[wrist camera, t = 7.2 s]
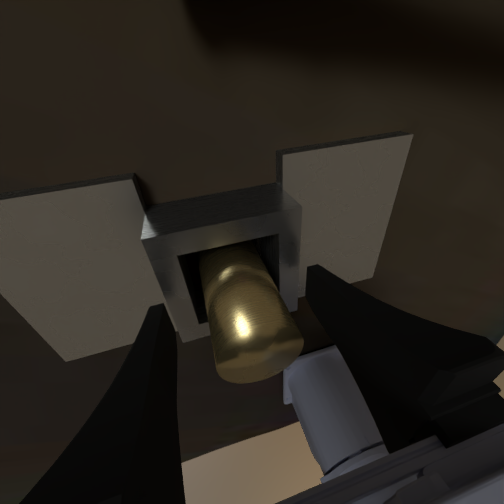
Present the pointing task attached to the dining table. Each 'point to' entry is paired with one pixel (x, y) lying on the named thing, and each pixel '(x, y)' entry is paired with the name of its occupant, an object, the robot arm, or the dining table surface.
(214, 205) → the hinge base
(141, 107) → the dining table surface
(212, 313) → the hinge pin
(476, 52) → the dining table surface
